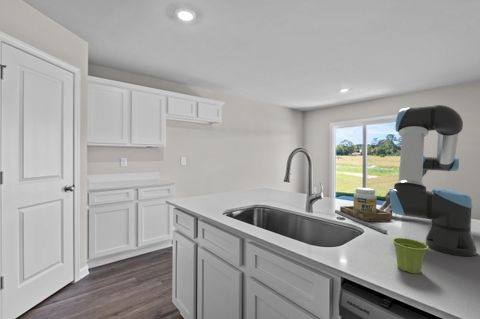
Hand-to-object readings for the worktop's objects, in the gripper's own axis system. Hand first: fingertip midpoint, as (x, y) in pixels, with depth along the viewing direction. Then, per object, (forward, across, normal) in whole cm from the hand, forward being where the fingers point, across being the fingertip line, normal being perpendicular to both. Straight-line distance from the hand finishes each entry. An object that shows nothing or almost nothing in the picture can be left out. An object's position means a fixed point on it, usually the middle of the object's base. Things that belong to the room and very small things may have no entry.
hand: (383, 210), depth 142 cm
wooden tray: (+8, 0, +4) cm, 9 cm away
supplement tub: (+12, 0, +7) cm, 14 cm away
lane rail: (+19, -8, +15) cm, 26 cm away
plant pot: (+34, -59, +29) cm, 74 cm away
